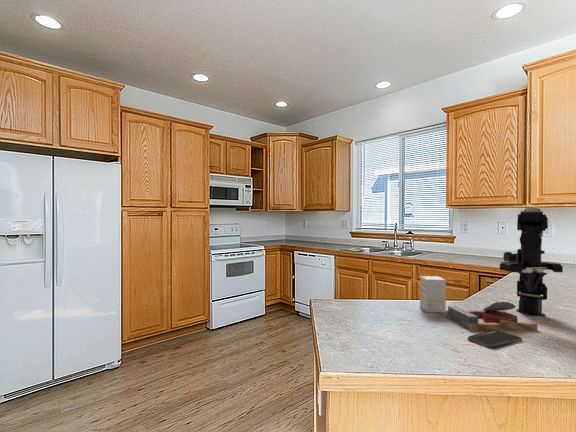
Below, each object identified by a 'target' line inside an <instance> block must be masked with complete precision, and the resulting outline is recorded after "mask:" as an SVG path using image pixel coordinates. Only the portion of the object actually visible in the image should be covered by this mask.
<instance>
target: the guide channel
mask: <svg viewBox="0 0 576 432" xmlns="http://www.w3.org/2000/svg"><path fill="white" fill-rule="evenodd" d="M464 310H465V309H464ZM465 311H467V312H469V313H471V314H473V315H476V316H478V318H483V312H484V311H485V310H483V309H481V310H480V309H479V310H477V309H476V310H474V309H473V310H472V309H471V310H469V309H467V310H465ZM501 311H502V312H507V310H501ZM445 316H446V317H447V318H448V309H447V310H446V313H445ZM468 330H469V331H471V332H476V331H477V332H480V331H481V332H489V331H493V330H499V331H502V332H505V331H515V332H516V331H538V323H536V322H517V323H486V322H478V323H469V329H468Z"/></svg>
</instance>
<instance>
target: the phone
mask: <svg viewBox="0 0 576 432" xmlns="http://www.w3.org/2000/svg"><path fill="white" fill-rule="evenodd" d="M467 341H469V342H471V343H474V344H477V345H479V346H482V347H484V348H487V349H491V350H496V349H500V348H503V347H507V346H511V345H514V344H518V343H521V342H522V341H523V338H522V337H520V336H519V335H515V334H512V333H510V332H509V333H508V332H505V331H499V330H493V331H483V332H480V333H477V334H473V335H469V336H467Z"/></svg>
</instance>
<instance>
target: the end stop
mask: <svg viewBox="0 0 576 432" xmlns="http://www.w3.org/2000/svg"><path fill="white" fill-rule="evenodd" d="M447 310H448V317H447V318H449V319H450V320H452V321H453V322H456V323H457V324H459V325H461V326H463V327H464V328H466V329H468V330H470V329H469V323H479V317H478V316H476V315H473V314H471V313H469V312H467V311H465V309H463V308H461V307H458V306H456V305H448V306H447Z"/></svg>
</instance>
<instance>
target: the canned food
mask: <svg viewBox="0 0 576 432" xmlns="http://www.w3.org/2000/svg"><path fill="white" fill-rule="evenodd" d="M516 307H517V306H516V305H515V304H513V303H511V302H510V301H508V302H507V301H501V302H500V301H499V302H498V301H497V302H494V303H491V304H490V305H489V306H485V308H484V307H483V309H482V310H485V311H484V312H483V317H482V318H483V320H482V321H483V323H518V316H517V315H516V314H513V313H510V312H507V311H509V310H513V309H515V308H516ZM501 310H504V311H506V312H502V311H501Z"/></svg>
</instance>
